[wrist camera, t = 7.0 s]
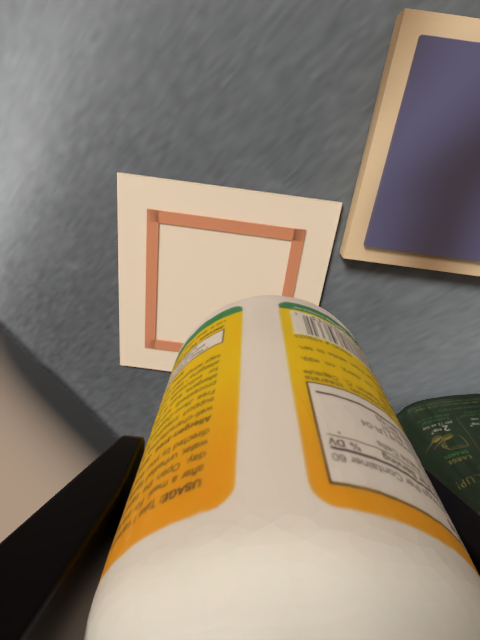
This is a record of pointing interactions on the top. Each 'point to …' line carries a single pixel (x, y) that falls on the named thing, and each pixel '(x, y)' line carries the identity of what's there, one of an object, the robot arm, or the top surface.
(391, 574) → the supplement bottle
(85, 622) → the robot arm
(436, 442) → the coffee jar
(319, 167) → the top surface
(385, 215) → the ink pad
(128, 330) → the print card
